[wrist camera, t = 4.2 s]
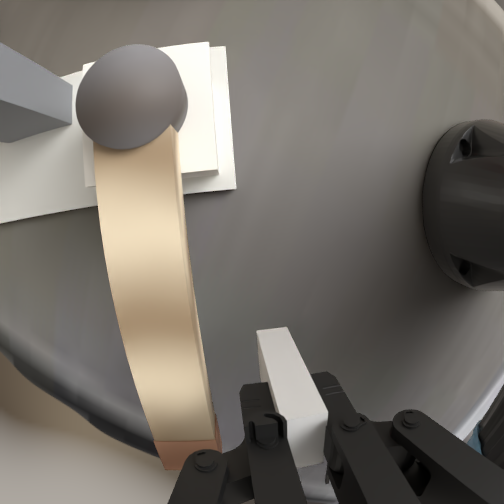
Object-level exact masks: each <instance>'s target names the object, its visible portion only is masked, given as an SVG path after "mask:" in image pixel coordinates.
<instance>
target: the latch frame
mask: <svg viewBox="0 0 504 504" xmlns="http://www.w3.org/2000/svg"><path fill="white" fill-rule="evenodd" d="M157 49H159V50H161V51H163V52H164V53H165V54H167V55H168V56H169V57H170V58H171V59H172V60H173V62H174V63H175V65H176V67H177V69H178V71H179V74H180V77H181V79H182V82H183V84H184V87H185V90H186V93H187V97H188V110H187V115H186V119H185V121H184V123H183V125H182V127H181V129H180V130H179V132H178V139H179V153H180V166H181V178H182V189H183V194H189V193H198V192H208V191H218V190H229V189H236V179H235V167H234V154H233V142H232V129H231V116H230V103H229V90H228V76H227V62H226V48H225V46H221V47H209V42H201V43H192V44H184V45H176V46H169V47H162V48H157ZM94 63H95V62H92V63H88V64H85V65H83V71H80V72H76V73H73V74H69V75H66V76H63V77H58V76H56V75H55V74H53V73H52V72H50V71H48V70H47V69H45V68H43V67H42V66H40V65H38V64H37V63H35V62H33V61H32V60H30V59H28V58H26V57H25V56H23V55H21V54H20V53H18V52H16V51H14V50H13V49H11V48H9V47H8V46H6V45H4V44H2V43H1V42H0V223H5V222H9V221H14V220H19V219H24V218H29V217H34V216H39V215H45V214H50V213H56V212H61V211H67V210H73V209H79V208H85V207H91V206H98V202H97V192H96V181H95V168H94V153H93V140H91V139H90V138H89V137H88V136H87V135H86V134H85V133H84V131H83V130H82V129H81V127H80V125H79V122H78V119H77V116H76V108H75V103H76V95H77V91H78V88H79V85H80V83H81V81H82V79H83V77H84V75H85V74H86V72H87V71H88V70H89V68H90V67H91V66H92V65H93V64H94Z"/></svg>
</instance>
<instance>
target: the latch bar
mask: <svg viewBox="0 0 504 504" xmlns="http://www.w3.org/2000/svg"><path fill="white" fill-rule="evenodd" d="M75 108H76V116H77V119H78V122H79V125H80V127H81V129H82V130H83V131H84V133H85V134H86V135H87V136H88V137H89V138H90V139H91V140H93V153H94V168H95V181H96V192H97V202H98V211H99V219H100V227H101V234H102V241H103V247H104V254H105V260H106V265H107V271H108V276H109V282H110V287H111V292H112V297H113V301H114V306H115V311H116V315H117V319H118V323H119V328H120V332H121V336H122V340H123V343H124V347H125V351H126V355H127V358H128V362H129V365H130V369H131V372H132V376H133V379H134V382H135V385H136V389H137V392H138V395H139V398H140V401H141V404H142V407H143V410H144V413H145V416H146V419H147V421H148V424H149V427H150V430H151V432H152V435H153V438H154V444H155V446H156V449H157V451H158V454H159V456H160V459H161V461H162V463H163V466H164V468H165V470H182V467H183V465H184V462H185V460H186V459H187V457H188V456H189V455H190V454H192V453H193V452H195V451H198V450H202V449H212V450H216V451H219V452H220V453H222V441H221V436H220V432H219V427H218V422H217V417H216V414H215V412H214V407H213V402H212V397H211V391H210V386H209V381H208V375H207V369H206V364H205V358H204V352H203V346H202V340H201V334H200V327H199V321H198V314H197V307H196V300H195V293H194V286H193V279H192V271H191V263H190V255H189V247H188V238H187V229H186V220H185V210H184V200H183V189H182V178H181V166H180V153H179V139H178V132H179V130H180V129H181V127H182V125H183V123H184V121H185V119H186V115H187V110H188V97H187V93H186V90H185V87H184V84H183V82H182V79H181V77H180V74H179V71H178V69H177V67H176V65H175V63H174V62H173V60H172V59H171V58H170V57H169V56H168V55H167V54H165V53H164V52H163V51H161V50H159V49H157V48H155V47H152V46H148V45H141V44H136V45H127V46H123V47H119V48H117V49H114V50H112V51H110V52H108V53H106V54H105V55H104V56H102V57H101V58H99V59H98V60H97V61H96V62H95V63H94V64H93V65H92V66H91V67H90V68H89V70H88V71H87V72H86V74H85V75H84V77H83V79H82V81H81V83H80V85H79V88H78V91H77V95H76V103H75Z"/></svg>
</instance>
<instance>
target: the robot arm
mask: <svg viewBox="0 0 504 504" xmlns="http://www.w3.org/2000/svg"><path fill="white" fill-rule="evenodd" d="M423 219H424V227H425V232H426V236H427V240H428V244H429V247H430V249H431V252H432V254H433V256H434V258H435V260H436V262H437V263H438V265H439V267H440V268H441V269H442V270H443V271H444V273H445V274H446V275H448V276H449V277H450V278H451V279H453V280H455V281H456V282H459V283H461V284H463V285H465V286H467V287H469V288H472V289H475V290H480V291H504V124H503V123H500V122H497V121H493V120H475V121H469V122H464V123H461V124H458V125H456V126H454V127H453V128H451V129H450V130H449V131H448V132H447V133H446V134H445V135H444V136H443V137H442V138H441V139H440V141H439V142H438V144H437V146H436V147H435V149H434V151H433V153H432V156H431V158H430V161H429V164H428V168H427V171H426V176H425V182H424V189H423ZM256 332H257V345H258V358H259V371H260V379H261V383H254V384H246V385H243V387H242V389H241V391H240V401H241V409H242V417H243V424H244V431H245V438H244V440H243V442H242V443H241V445H240V446H238V447H237V448H236V449H234V450H231V451H229V452H226V453H223V454H222V453H220V452H219V451H216V450H212V449H202V450H198V451H195V452H193V453H192V454H190V455H189V456H188V457H187V459H186V460H185V462H184V465H183V467H182V470H181V472H180V475H179V477H178V480H177V482H176V484H175V487H174V489H173V492H172V494H171V497H170V499H169V502H168V504H241V503H243V502H246V501H248V500H251V499H255V504H307V501H306V498H305V495H304V492H303V488H302V485H301V482H300V478H299V475H298V472H297V469H296V468H300V467H305V466H310V465H315V464H320V463H323V460H324V455H325V458H326V460H327V463H328V464H327V471H326V478H325V483H326V484H329V479H330V482H331V484H332V487H333V489H334V492H335V494H336V497H337V499H338V502H339V504H504V385H503V386H502V388H501V390H500V391H499V393H498V395H497V397H496V398H495V400H494V402H493V403H492V405H491V406H490V408H489V410H488V411H487V413H486V414H485V416H484V417H483V419H482V420H480V421H479V422H478V423H477V424H476V426H475V428H474V430H473V435H472V436H471V438H470V439H469V441H468V442H467V444H466V443H464V442H463V441H462V440H460V439H459V438H457V437H456V436H455V435H453V434H452V433H450V432H449V431H448V430H446V429H445V428H443V427H442V426H441V425H439V424H438V423H436V422H435V421H434V420H432V419H431V418H430V417H428V416H427V415H425V414H424V413H422V412H420V411H418V410H412V409H411V410H404V411H401V412H399V413H397V414H396V415H395V416H394V419H393V421H387V422H373V421H370V420H369V419H368V418H367V417H366V416H364V415H362V414H360V413H357V412H356V411H355V409H354V407H353V406H352V404H351V402H350V401H349V399H348V397H347V396H346V394H345V392H343V389H342V387H341V386H340V384H339V382H338V381H337V379H336V377H334V376H333V375H331V374H330V373H328V372H321V373H316V374H309V372H308V370H307V367H306V365H305V363H304V361H303V359H302V357H301V355H300V353H299V351H298V349H297V347H296V345H295V343H294V341H293V339H292V337H291V335H290V332H289V330H288V328H287V327H282V328H274V329H266V330H257V331H256Z"/></svg>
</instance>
